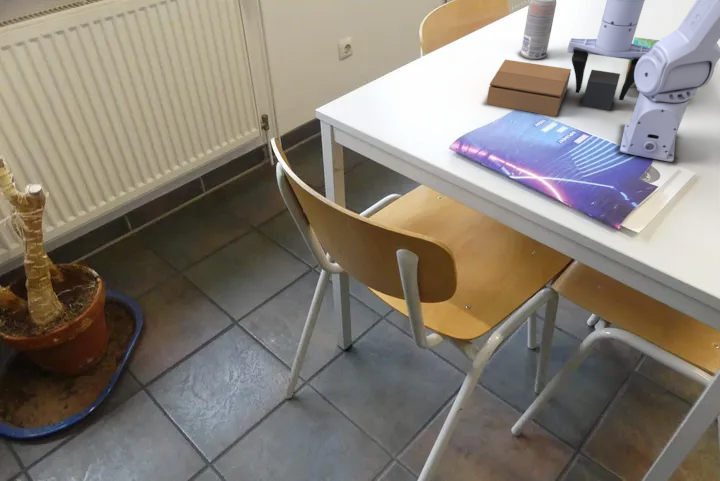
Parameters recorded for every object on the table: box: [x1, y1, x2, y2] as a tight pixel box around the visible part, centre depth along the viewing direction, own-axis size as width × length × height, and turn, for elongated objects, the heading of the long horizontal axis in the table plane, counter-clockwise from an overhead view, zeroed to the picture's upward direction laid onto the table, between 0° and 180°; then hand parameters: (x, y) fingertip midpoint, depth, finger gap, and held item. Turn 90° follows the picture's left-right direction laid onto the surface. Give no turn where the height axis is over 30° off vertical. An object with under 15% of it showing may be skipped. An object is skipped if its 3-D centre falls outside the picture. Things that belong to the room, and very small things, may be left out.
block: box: [581, 69, 621, 111], centre depth 103 cm, size 5×5×5 cm
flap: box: [489, 70, 566, 97], centre depth 102 cm, size 6×13×1 cm, turn 65°
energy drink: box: [520, 0, 557, 60], centre depth 117 cm, size 5×5×12 cm
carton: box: [486, 59, 572, 117], centre depth 105 cm, size 12×13×4 cm
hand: (599, 94), depth 103 cm, fingers open, 7 cm apart
